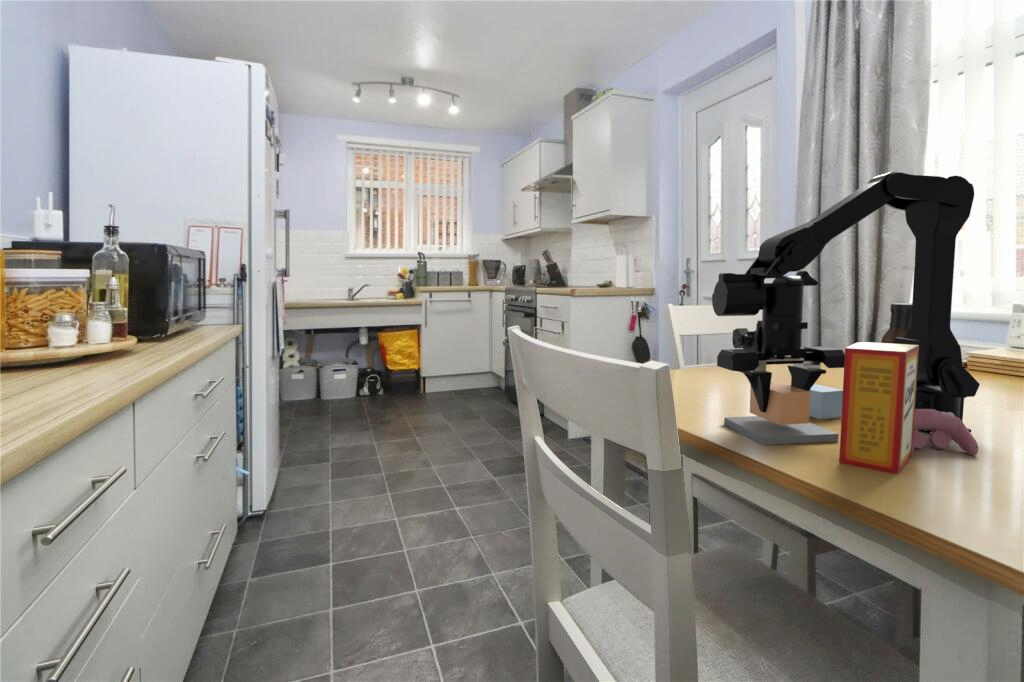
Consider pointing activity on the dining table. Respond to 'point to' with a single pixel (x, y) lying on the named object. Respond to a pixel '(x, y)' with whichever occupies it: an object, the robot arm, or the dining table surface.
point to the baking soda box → (878, 405)
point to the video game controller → (942, 431)
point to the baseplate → (779, 431)
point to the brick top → (825, 402)
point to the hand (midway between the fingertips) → (778, 411)
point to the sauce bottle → (898, 322)
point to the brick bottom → (784, 405)
